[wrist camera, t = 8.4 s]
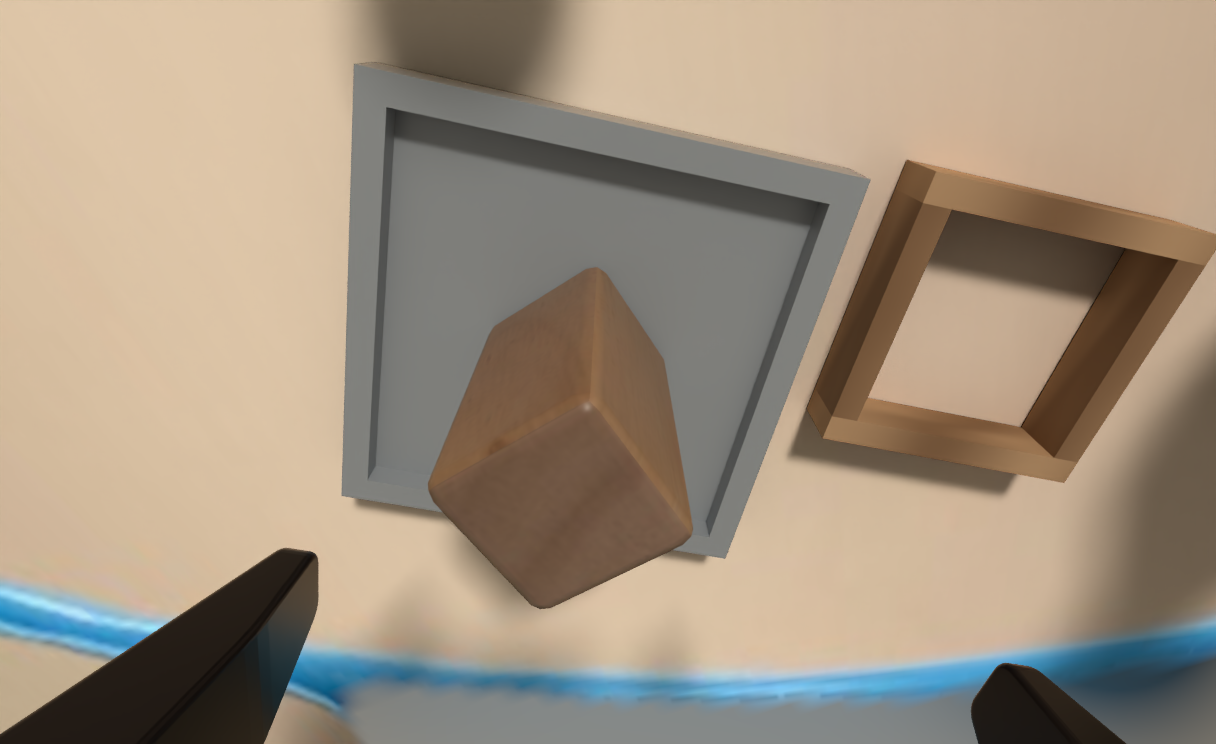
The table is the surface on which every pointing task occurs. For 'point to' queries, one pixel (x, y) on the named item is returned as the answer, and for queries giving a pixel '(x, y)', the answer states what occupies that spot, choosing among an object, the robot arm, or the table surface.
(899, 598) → the table surface
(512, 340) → the wooden block
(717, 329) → the slate tray
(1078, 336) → the walnut collar
